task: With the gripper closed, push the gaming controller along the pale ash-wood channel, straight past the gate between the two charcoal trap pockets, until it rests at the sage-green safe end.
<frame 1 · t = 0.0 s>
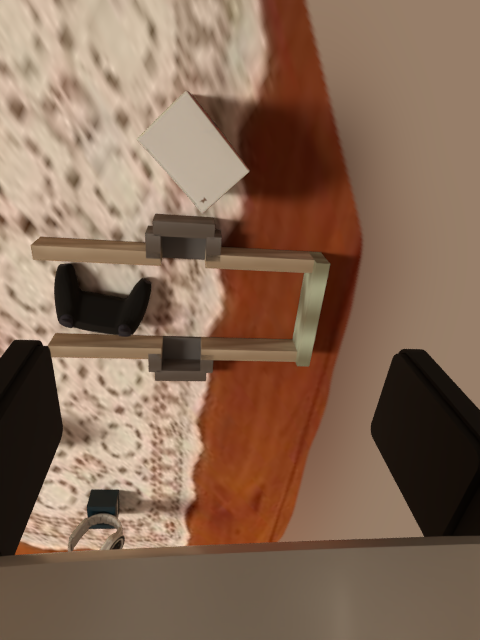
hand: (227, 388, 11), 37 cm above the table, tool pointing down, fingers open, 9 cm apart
small box: (196, 144, 42), on the table
gaming controller: (105, 293, 49), on the table
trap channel: (183, 299, 50), on the table
watch: (106, 499, 67), on the table
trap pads: (183, 299, 50), on the table
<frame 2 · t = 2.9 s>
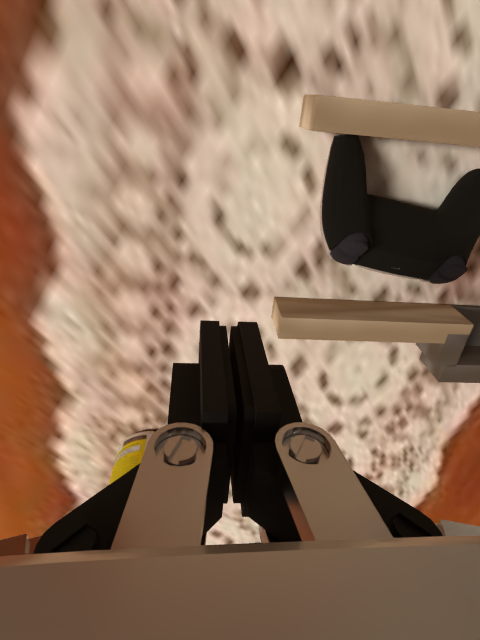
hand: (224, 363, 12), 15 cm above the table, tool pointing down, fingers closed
supplement bottle: (150, 448, 35), on the table
gaming controller: (388, 205, 26), on the table
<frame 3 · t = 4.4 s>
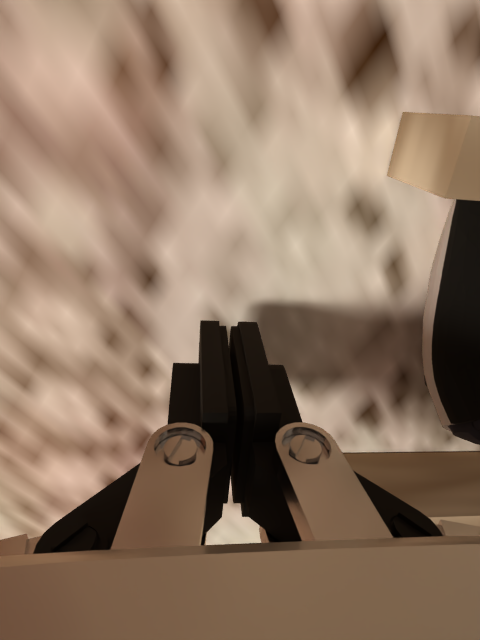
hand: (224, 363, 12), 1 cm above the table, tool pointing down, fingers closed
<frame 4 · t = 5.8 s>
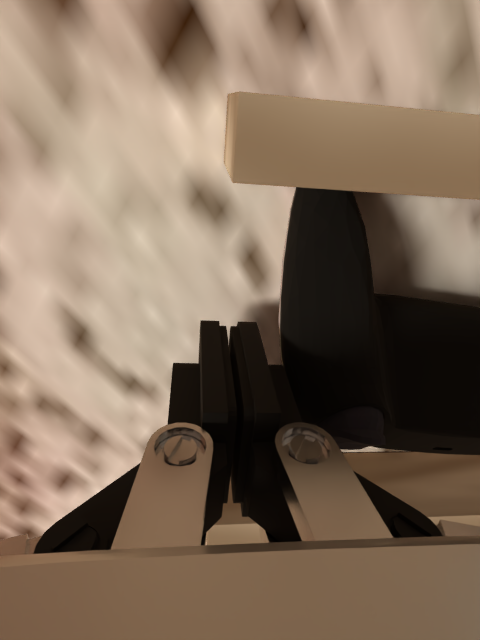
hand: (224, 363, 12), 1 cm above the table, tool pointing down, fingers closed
gaming controller: (415, 297, 14), on the table, touching gripper
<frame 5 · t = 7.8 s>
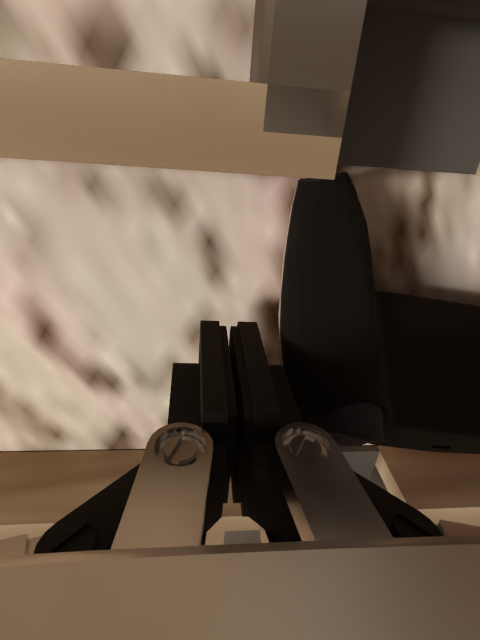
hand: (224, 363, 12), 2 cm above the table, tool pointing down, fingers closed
gaming controller: (415, 296, 14), on the table, touching gripper
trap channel: (347, 333, 14), on the table
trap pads: (347, 333, 14), on the table
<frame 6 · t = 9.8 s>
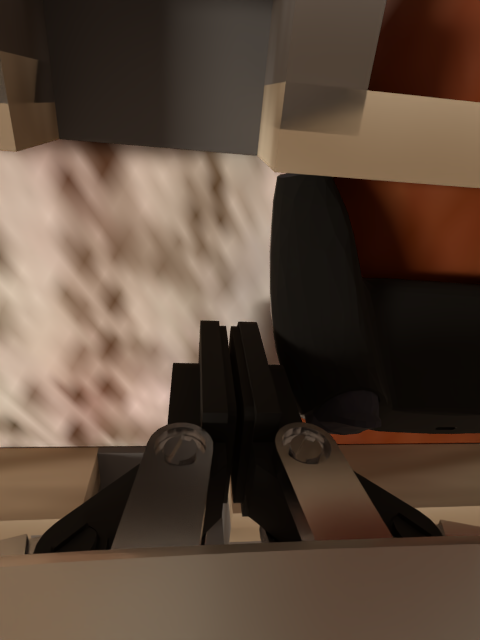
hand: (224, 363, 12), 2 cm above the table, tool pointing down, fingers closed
gaming controller: (411, 279, 14), on the table, touching gripper
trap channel: (163, 326, 13), on the table
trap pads: (163, 326, 13), on the table
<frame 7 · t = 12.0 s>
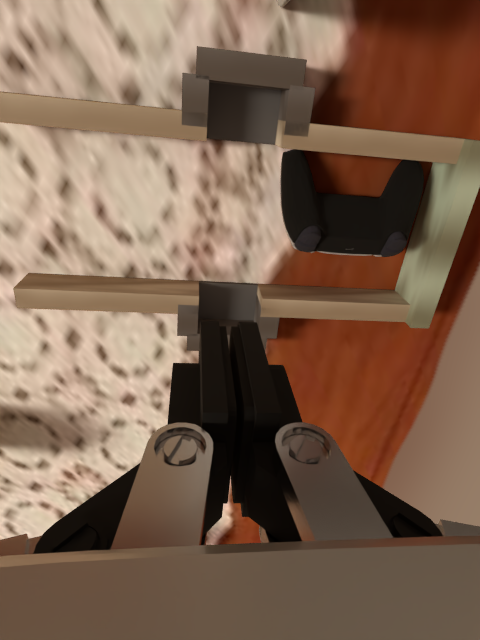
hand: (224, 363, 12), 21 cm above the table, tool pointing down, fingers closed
gaming controller: (340, 198, 32), on the table, touching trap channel
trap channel: (233, 217, 31), on the table
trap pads: (233, 217, 31), on the table
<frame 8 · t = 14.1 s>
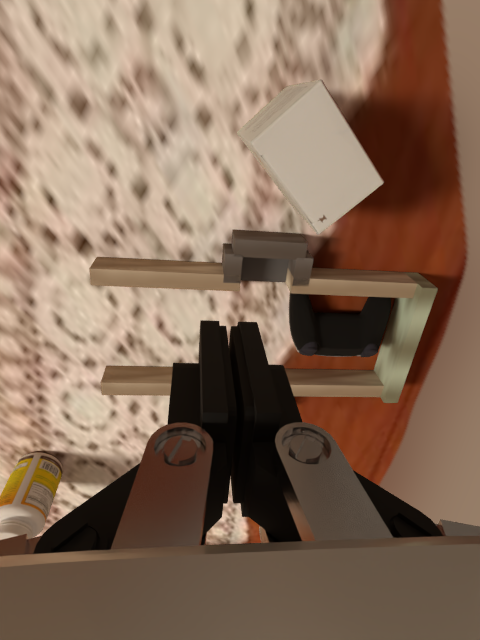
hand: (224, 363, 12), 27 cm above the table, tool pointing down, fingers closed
small box: (287, 147, 35), on the table
supplement bottle: (41, 464, 50), on the table
gaming controller: (332, 311, 43), on the table
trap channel: (255, 326, 43), on the table
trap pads: (255, 326, 43), on the table
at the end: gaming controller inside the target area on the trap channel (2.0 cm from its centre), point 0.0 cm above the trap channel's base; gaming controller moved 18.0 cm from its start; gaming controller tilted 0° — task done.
